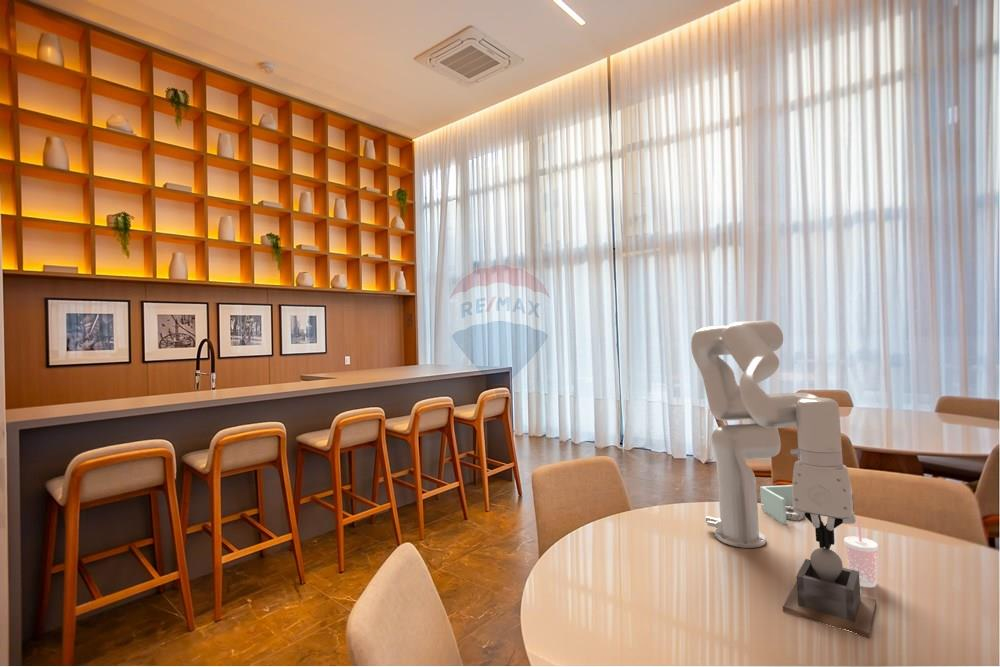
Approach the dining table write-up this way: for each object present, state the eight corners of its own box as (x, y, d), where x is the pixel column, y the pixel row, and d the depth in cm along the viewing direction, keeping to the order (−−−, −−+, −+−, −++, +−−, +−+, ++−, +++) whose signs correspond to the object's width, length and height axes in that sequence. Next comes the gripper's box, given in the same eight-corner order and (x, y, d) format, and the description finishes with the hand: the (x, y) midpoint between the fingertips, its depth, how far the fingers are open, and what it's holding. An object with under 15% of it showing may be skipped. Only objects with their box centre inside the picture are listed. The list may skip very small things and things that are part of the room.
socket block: (783, 611, 96) (780, 577, 96) (797, 583, 106) (795, 552, 107) (869, 638, 87) (866, 600, 87) (876, 604, 97) (874, 570, 97)
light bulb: (850, 605, 94) (847, 555, 94) (820, 604, 95) (816, 554, 95) (836, 591, 99) (833, 543, 99) (808, 589, 100) (805, 542, 100)
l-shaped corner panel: (783, 524, 139) (782, 499, 139) (761, 509, 151) (760, 486, 151) (824, 522, 139) (822, 497, 139) (798, 508, 151) (797, 484, 151)
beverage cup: (871, 592, 101) (867, 527, 102) (840, 580, 107) (836, 518, 107) (886, 584, 104) (882, 521, 104) (855, 572, 110) (851, 512, 110)
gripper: (774, 456, 99) (780, 543, 99) (863, 467, 89) (869, 563, 89) (783, 449, 105) (788, 531, 105) (867, 458, 95) (873, 549, 94)
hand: (825, 546), depth 97 cm, fingers closed
